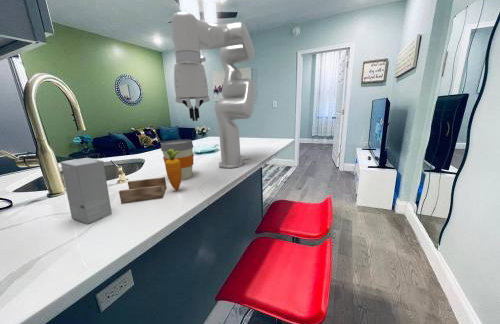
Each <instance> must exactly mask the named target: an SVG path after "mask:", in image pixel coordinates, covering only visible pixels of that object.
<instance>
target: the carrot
mask: <svg viewBox="0 0 500 324" xmlns="http://www.w3.org/2000/svg"><path fill="white" fill-rule="evenodd" d="M178 152H179V151H176V152H175V154H174V149H172V150H171V149H169V150H168V151H167V154H168V155H169V157H170V159H168V160H167V161H166V162H164V165H165V171H166V176H167V178H168V181H169V183H170V185H171V186H172V188H173V189H174V190H175V191H176V192H177V191H179V189H180V186H181V182H182V180H181V162H180V160H179V159H175V156H176V154H177V153H178Z"/></svg>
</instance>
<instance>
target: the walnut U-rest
mask: <svg viewBox="0 0 500 324" xmlns="http://www.w3.org/2000/svg"><path fill="white" fill-rule="evenodd" d="M127 185H128V189H122V190H119V191H118V194H119V200H120V203H121V205H123V204H129V203H137V202H143V201H150V200H156V199H157V200H159V199H162V198H164V195H165V194H166V193H165V192H166V189H167V181H166V177H165V176H163V177H155V178H146V179H138V180H130V181H127Z"/></svg>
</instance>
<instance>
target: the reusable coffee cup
mask: <svg viewBox="0 0 500 324" xmlns="http://www.w3.org/2000/svg"><path fill="white" fill-rule="evenodd" d="M193 148H194V144H193V141H192V139H175V140H174V139H173V140H168V141H167V140H166V141H163V142H161V143H160V151H161V153H162V154H163V157H162V158H163V162H164V163H165V162H166V161H167V160H168V159H170V157H169V155H168V154H167V151H168V150H169V149H171V150H172V149H174V154H175V152H176V151H179V152H178V153H177V154H176V156H175V159H179V160H180V162H181V181H183V180H187V179H190V178H192V177H193V165H194V153H193V152H194V151H193Z"/></svg>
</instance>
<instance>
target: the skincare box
mask: <svg viewBox="0 0 500 324" xmlns="http://www.w3.org/2000/svg"><path fill="white" fill-rule="evenodd" d="M60 165H61V170H62V175H63V180H64V185H65V190H66V191H65V192H66V195H67V200H68V201H67V202H68V207H69V211H70V216H71V219H73V220H77V221H79V222H81V223H82V224H83V223H84V224H86V225H88V224H91V223H94V222H96V221H98V220H100V219H103V218H106V217H108V216H110V215H112V213H113V212H112V208H111V200H110V193H109V188H108V187H109V186H108V181H107V176H106V175H107V174H106V168H105V162H104V160H102V159H98V158H91V157H84V158H83V157H82V158H77V159H70V160H63V161H60Z"/></svg>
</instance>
